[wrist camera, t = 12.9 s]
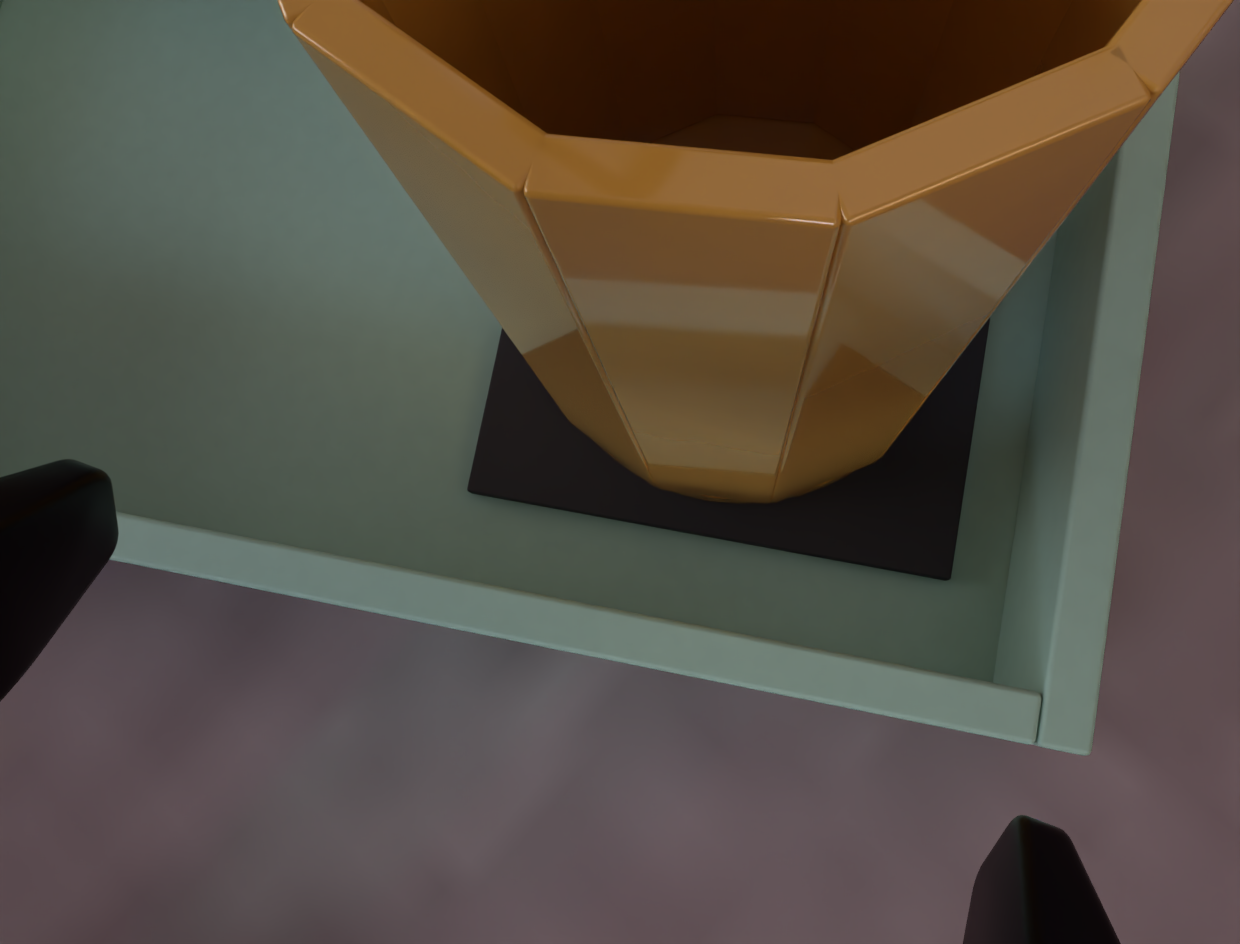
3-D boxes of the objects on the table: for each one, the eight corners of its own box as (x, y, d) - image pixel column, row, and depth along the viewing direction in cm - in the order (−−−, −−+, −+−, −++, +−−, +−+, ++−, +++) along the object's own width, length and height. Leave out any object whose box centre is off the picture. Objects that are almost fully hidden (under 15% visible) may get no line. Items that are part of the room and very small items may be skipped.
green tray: (1120, 30, 19) (1205, -105, 16) (1021, 736, 18) (1092, 757, 14) (22, -99, 22) (-109, -238, 19) (-158, 500, 20) (-338, 469, 17)
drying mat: (1017, 120, 19) (1022, 111, 18) (947, 581, 18) (950, 579, 17) (563, 62, 20) (560, 52, 19) (470, 493, 19) (466, 491, 18)
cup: (925, 530, 17) (1330, 275, 6) (511, 475, 18) (107, 152, 6) (968, 132, 18) (1387, -792, 7) (573, 97, 19) (322, -779, 7)
